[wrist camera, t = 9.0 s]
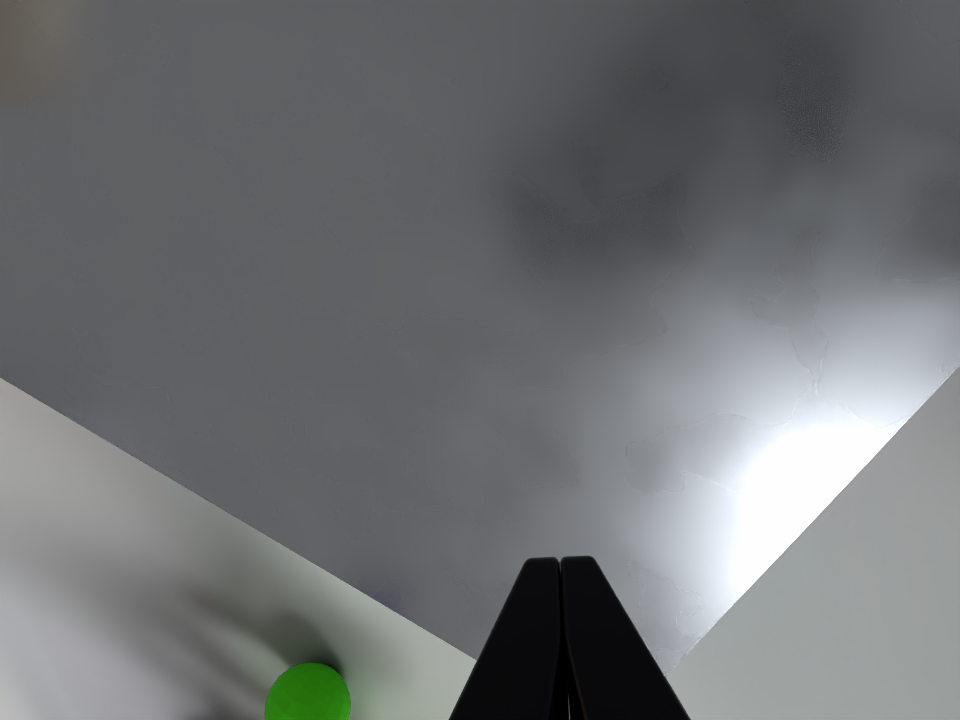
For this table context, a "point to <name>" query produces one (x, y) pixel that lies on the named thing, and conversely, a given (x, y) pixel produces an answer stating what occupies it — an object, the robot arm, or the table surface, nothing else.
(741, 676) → the table surface
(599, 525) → the slate plate
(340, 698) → the molecular model
